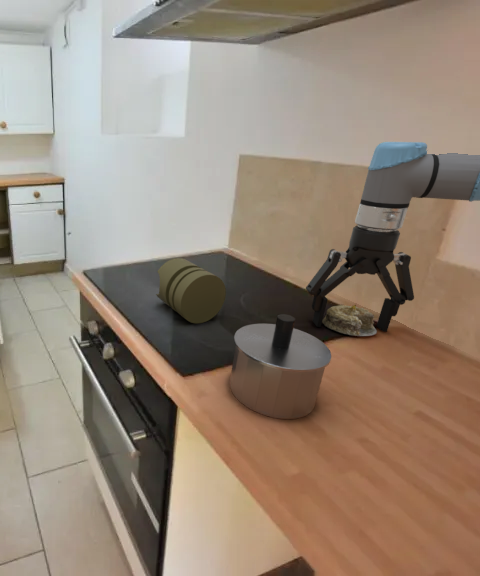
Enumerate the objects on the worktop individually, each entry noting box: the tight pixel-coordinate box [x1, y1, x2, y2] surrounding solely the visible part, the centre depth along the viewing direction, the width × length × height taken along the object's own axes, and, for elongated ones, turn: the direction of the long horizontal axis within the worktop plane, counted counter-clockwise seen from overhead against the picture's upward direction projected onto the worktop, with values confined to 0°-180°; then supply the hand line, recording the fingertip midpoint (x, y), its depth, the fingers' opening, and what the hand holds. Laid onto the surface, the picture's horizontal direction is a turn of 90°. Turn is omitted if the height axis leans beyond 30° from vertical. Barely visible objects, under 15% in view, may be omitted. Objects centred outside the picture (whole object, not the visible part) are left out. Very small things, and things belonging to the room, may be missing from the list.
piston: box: [155, 257, 227, 324], centre depth 86 cm, size 11×12×11 cm
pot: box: [229, 345, 326, 420], centre depth 59 cm, size 12×12×8 cm
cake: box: [322, 304, 378, 337], centre depth 80 cm, size 10×10×5 cm
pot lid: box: [233, 313, 332, 372], centre depth 57 cm, size 13×13×6 cm
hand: (348, 326), depth 81 cm, fingers open, 12 cm apart
